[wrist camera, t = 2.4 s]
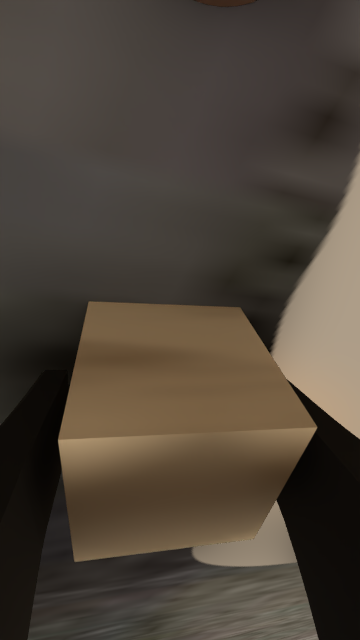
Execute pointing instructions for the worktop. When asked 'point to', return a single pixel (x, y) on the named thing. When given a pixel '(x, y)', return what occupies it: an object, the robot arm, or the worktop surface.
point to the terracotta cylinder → (225, 2)
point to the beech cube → (174, 430)
